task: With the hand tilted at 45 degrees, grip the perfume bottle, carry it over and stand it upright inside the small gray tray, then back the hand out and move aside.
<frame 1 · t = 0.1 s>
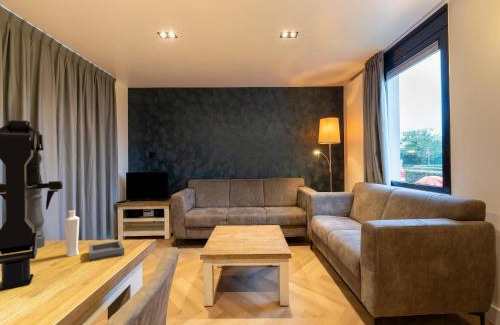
hand: (30, 211, 95), 15 cm above the table, tool pointing down, fingers open, 9 cm apart
candle holder: (34, 247, 102), on the table
gray tray: (106, 253, 93), on the table
perfume bottle: (71, 255, 93), on the table
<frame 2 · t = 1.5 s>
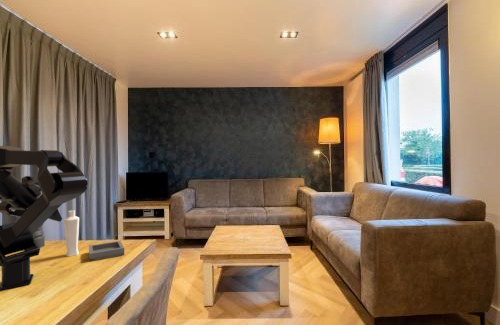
hand: (49, 219, 86), 14 cm above the table, tool tilted 45°, fingers open, 9 cm apart
nothing on the table moved.
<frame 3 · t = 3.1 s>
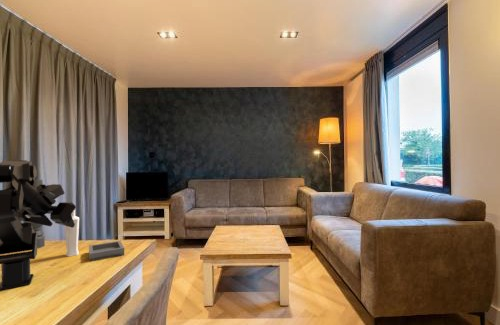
hand: (62, 225, 90), 11 cm above the table, tool tilted 45°, fingers open, 9 cm apart
nothing on the table moved.
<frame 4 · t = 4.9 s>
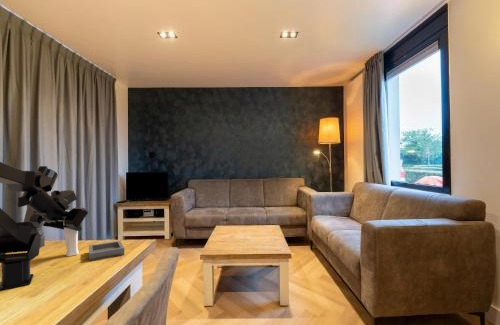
hand: (75, 229, 94), 8 cm above the table, tool tilted 45°, fingers closed on perfume bottle, 4 cm apart
perfume bottle: (71, 254, 93), on the table, touching gripper
everything else where it was.
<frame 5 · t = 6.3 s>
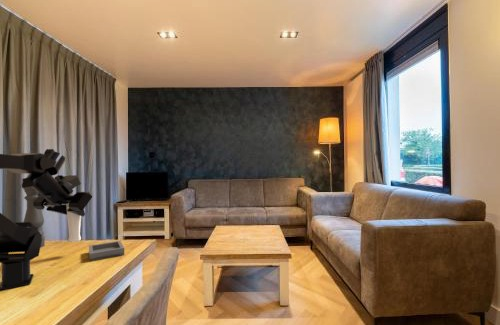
hand: (78, 215, 94), 13 cm above the table, tool tilted 45°, fingers closed on perfume bottle, 4 cm apart
perfume bottle: (74, 240, 93), point 5 cm above the table, touching gripper
everything else where it was.
when the fingers open (10 cm above the table, at t = 8.2 s): perfume bottle stays where it is, resting on gray tray.
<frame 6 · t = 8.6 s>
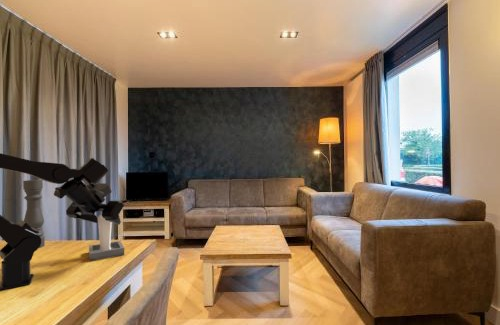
hand: (108, 222, 95), 10 cm above the table, tool tilted 45°, fingers open, 9 cm apart
perfume bottle: (104, 251, 93), point 1 cm above the table, touching gray tray
everything else where it was.
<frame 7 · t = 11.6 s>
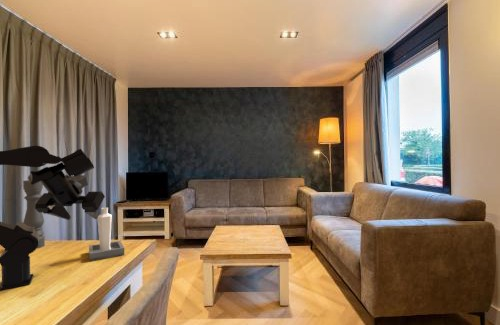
hand: (83, 218, 88), 13 cm above the table, tool tilted 40°, fingers open, 9 cm apart
nothing on the table moved.
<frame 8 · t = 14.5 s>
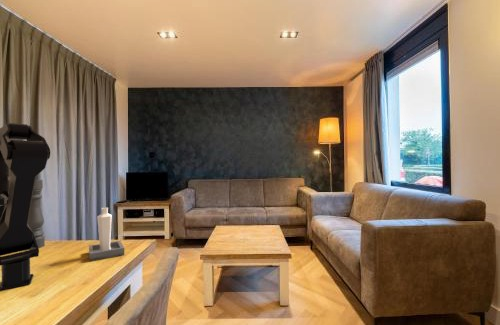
nothing on the table moved.
at the end: perfume bottle 0.4 cm off-centre on the gray tray, point 0.6 cm above the gray tray's base; perfume bottle tilted 0°; the gripper is holding nothing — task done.
